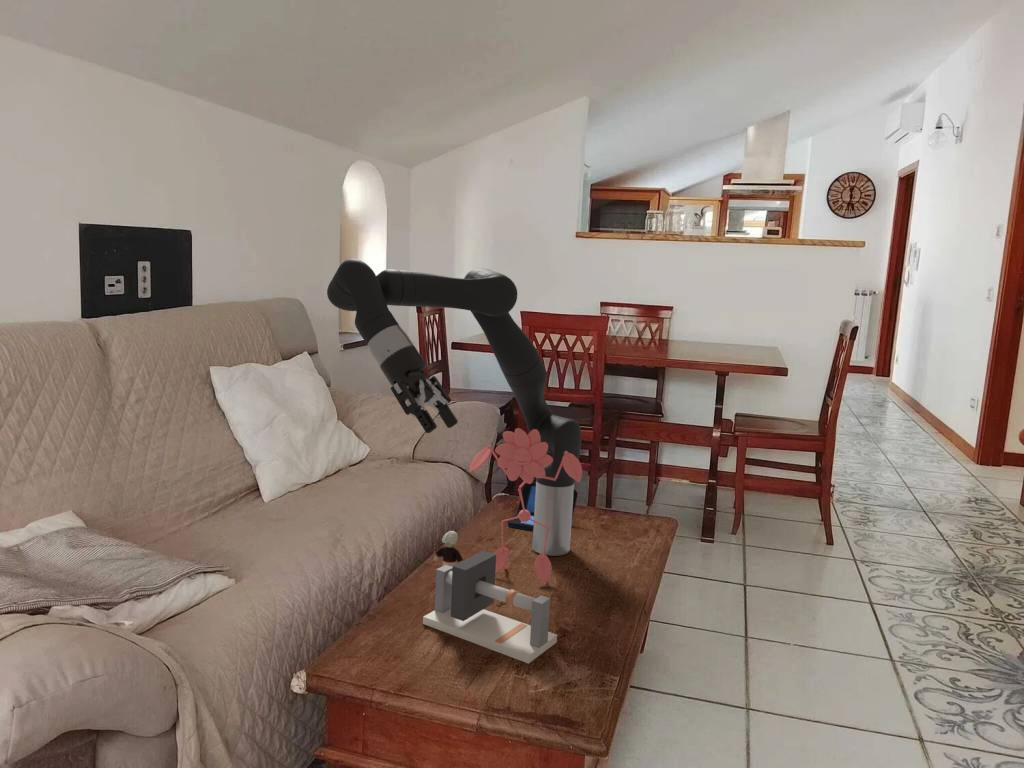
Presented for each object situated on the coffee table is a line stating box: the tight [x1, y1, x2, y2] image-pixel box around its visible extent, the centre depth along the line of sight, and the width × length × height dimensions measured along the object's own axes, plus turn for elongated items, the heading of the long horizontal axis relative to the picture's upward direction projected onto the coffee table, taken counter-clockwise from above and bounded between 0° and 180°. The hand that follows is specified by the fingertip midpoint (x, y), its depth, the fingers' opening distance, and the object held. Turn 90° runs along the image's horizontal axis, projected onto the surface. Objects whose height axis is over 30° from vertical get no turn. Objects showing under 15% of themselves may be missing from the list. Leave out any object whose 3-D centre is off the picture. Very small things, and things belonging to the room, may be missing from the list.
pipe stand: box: [422, 565, 558, 665], centre depth 150 cm, size 10×24×10 cm, turn 57°
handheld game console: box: [507, 482, 578, 532], centre depth 213 cm, size 16×13×9 cm
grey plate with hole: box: [451, 550, 496, 621], centre depth 152 cm, size 10×3×10 cm, turn 147°
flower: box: [469, 427, 583, 598], centre depth 171 cm, size 15×26×35 cm, turn 72°
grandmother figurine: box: [433, 530, 464, 567], centre depth 169 cm, size 8×4×13 cm, turn 71°
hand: (443, 428), depth 145 cm, fingers open, 8 cm apart
